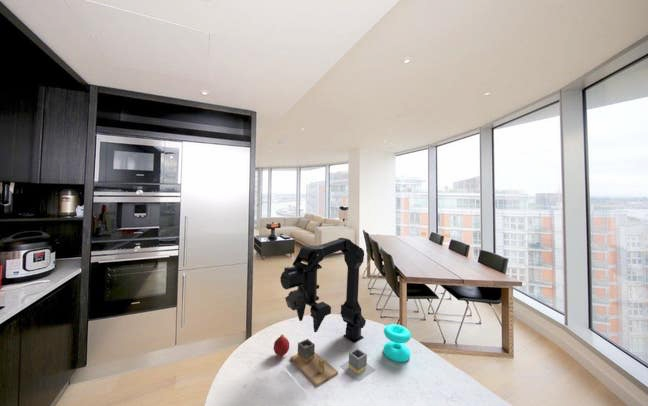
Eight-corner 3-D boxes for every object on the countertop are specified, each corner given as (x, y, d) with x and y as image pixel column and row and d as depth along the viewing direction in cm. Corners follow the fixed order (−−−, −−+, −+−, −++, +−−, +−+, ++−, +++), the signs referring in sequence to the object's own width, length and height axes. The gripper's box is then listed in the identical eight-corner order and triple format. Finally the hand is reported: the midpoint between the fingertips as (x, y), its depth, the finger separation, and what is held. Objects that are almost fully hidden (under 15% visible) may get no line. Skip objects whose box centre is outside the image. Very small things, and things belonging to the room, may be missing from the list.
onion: (285, 362, 83) (286, 340, 83) (270, 360, 84) (271, 338, 84) (291, 352, 89) (291, 331, 89) (277, 350, 90) (277, 329, 90)
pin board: (310, 351, 90) (310, 335, 90) (338, 375, 78) (338, 356, 78) (290, 360, 84) (290, 343, 84) (317, 388, 72) (317, 368, 72)
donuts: (399, 321, 96) (416, 334, 86) (399, 345, 96) (415, 361, 86) (379, 324, 93) (394, 338, 83) (378, 349, 93) (393, 366, 83)
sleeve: (357, 361, 84) (357, 348, 84) (366, 368, 81) (366, 354, 81) (348, 367, 81) (349, 352, 81) (357, 374, 78) (358, 359, 78)
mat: (356, 357, 87) (356, 356, 87) (375, 370, 80) (375, 369, 80) (339, 367, 82) (339, 366, 82) (358, 382, 75) (358, 381, 75)
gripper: (276, 279, 84) (275, 322, 84) (304, 296, 70) (303, 347, 70) (301, 274, 91) (300, 313, 91) (332, 288, 77) (331, 335, 77)
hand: (307, 326), depth 82 cm, fingers open, 9 cm apart
